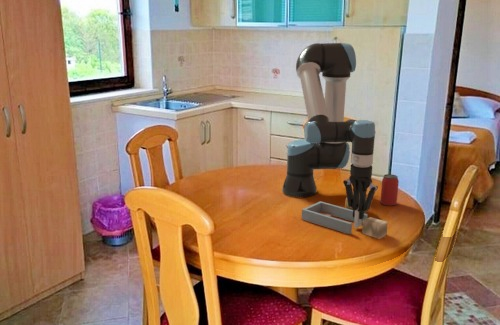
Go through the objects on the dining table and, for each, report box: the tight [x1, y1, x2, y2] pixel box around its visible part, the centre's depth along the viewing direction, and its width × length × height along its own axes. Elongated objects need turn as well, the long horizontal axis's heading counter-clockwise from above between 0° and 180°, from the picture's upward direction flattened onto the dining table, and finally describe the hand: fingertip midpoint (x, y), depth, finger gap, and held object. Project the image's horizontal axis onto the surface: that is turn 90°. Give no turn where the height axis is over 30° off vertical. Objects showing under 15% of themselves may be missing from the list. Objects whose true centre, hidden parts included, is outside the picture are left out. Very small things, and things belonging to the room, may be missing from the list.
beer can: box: [380, 173, 399, 207], centre depth 205 cm, size 7×7×12 cm
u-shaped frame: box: [301, 200, 369, 235], centre depth 187 cm, size 21×12×4 cm, turn 48°
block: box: [361, 216, 389, 240], centre depth 176 cm, size 5×5×7 cm
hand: (357, 226), depth 181 cm, fingers closed
